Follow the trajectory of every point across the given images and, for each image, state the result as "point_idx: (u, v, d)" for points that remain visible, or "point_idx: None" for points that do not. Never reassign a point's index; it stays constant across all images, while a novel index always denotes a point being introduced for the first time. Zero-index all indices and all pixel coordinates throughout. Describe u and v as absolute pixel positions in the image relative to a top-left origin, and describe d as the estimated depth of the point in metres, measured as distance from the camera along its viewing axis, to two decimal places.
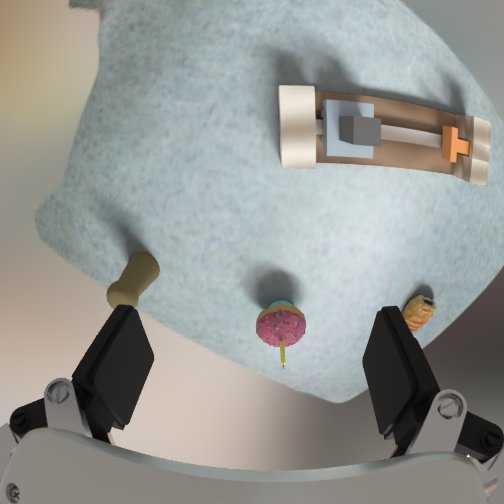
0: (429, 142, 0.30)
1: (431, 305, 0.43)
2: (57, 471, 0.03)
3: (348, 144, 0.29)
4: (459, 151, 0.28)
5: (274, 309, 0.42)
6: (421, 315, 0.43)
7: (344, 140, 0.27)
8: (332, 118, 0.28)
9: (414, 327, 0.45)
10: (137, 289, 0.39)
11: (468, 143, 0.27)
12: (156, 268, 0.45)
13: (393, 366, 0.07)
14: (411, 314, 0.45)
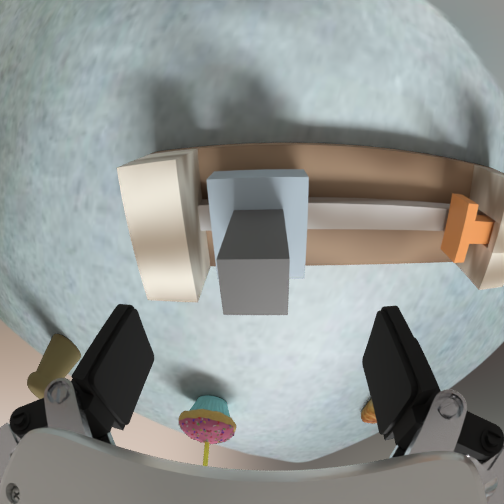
0: (423, 223, 0.19)
1: None
2: (57, 471, 0.03)
3: None
4: (473, 241, 0.16)
5: (193, 415, 0.31)
6: None
7: None
8: (221, 216, 0.17)
9: None
10: None
11: (490, 225, 0.16)
12: (75, 352, 0.34)
13: (393, 366, 0.07)
14: None
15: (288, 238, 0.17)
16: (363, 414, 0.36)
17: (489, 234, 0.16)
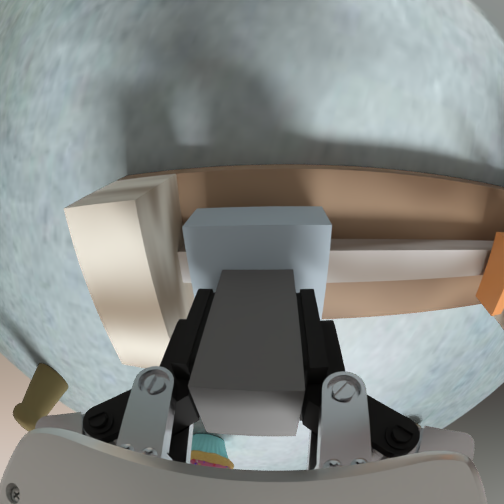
0: (461, 269, 0.14)
1: None
2: (57, 471, 0.03)
3: None
4: None
5: None
6: None
7: None
8: (205, 277, 0.12)
9: None
10: (40, 413, 0.23)
11: None
12: (61, 384, 0.29)
13: None
14: None
15: None
16: None
17: None
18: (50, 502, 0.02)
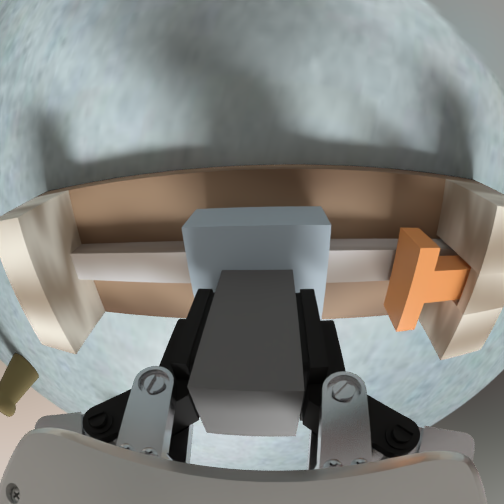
0: (353, 272, 0.14)
1: None
2: (57, 471, 0.03)
3: None
4: (432, 299, 0.12)
5: None
6: None
7: None
8: (205, 277, 0.12)
9: None
10: (12, 397, 0.24)
11: (464, 273, 0.11)
12: (32, 372, 0.29)
13: None
14: None
15: None
16: None
17: (461, 286, 0.12)
18: (50, 502, 0.02)
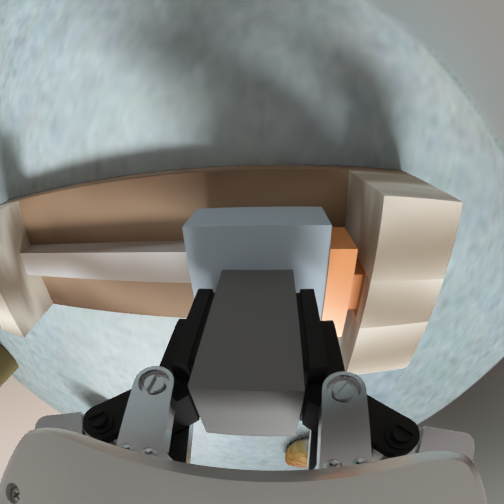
0: None
1: None
2: (57, 471, 0.03)
3: None
4: None
5: None
6: None
7: None
8: (205, 277, 0.12)
9: None
10: None
11: None
12: (11, 362, 0.30)
13: None
14: (292, 458, 0.29)
15: None
16: (285, 458, 0.32)
17: None
18: (50, 502, 0.02)
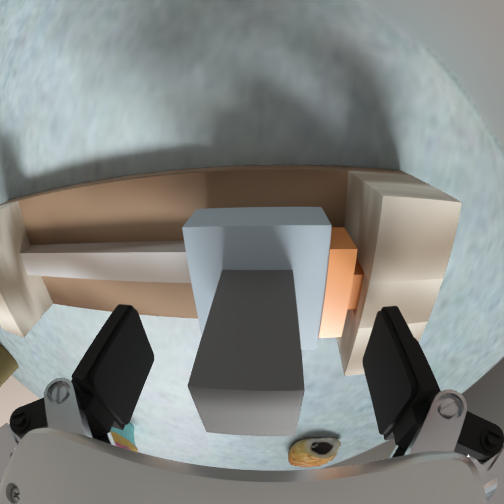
0: None
1: (326, 453, 0.28)
2: (57, 471, 0.03)
3: None
4: None
5: None
6: (310, 462, 0.28)
7: None
8: (205, 277, 0.12)
9: (307, 466, 0.30)
10: None
11: None
12: (11, 362, 0.30)
13: (393, 366, 0.07)
14: (295, 458, 0.29)
15: (298, 306, 0.12)
16: (288, 458, 0.32)
17: None
18: (50, 502, 0.02)
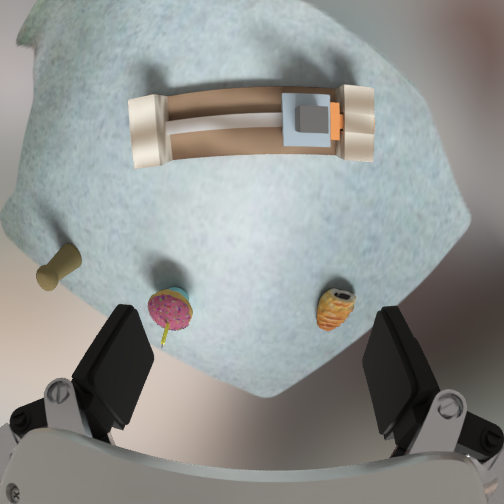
0: None
1: (346, 299, 0.46)
2: (57, 471, 0.03)
3: (304, 134, 0.31)
4: None
5: (159, 293, 0.45)
6: (335, 310, 0.47)
7: (297, 130, 0.29)
8: (288, 111, 0.30)
9: (332, 323, 0.48)
10: (58, 272, 0.42)
11: None
12: (77, 256, 0.48)
13: (393, 366, 0.07)
14: (323, 309, 0.48)
15: None
16: (317, 318, 0.50)
17: None
18: (50, 502, 0.02)
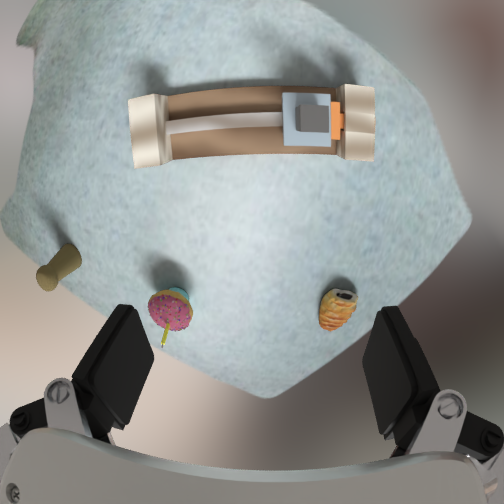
0: None
1: (348, 299, 0.46)
2: (57, 471, 0.03)
3: (305, 134, 0.31)
4: None
5: (159, 293, 0.45)
6: (337, 310, 0.46)
7: (297, 129, 0.29)
8: (289, 110, 0.30)
9: (335, 323, 0.48)
10: (58, 272, 0.42)
11: None
12: (78, 257, 0.48)
13: (393, 366, 0.07)
14: (325, 309, 0.48)
15: None
16: (319, 318, 0.50)
17: None
18: (50, 502, 0.02)
